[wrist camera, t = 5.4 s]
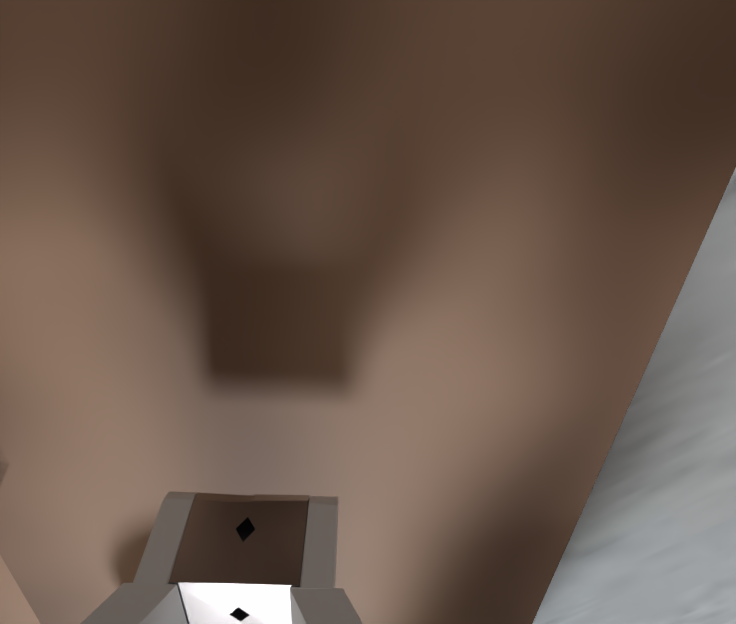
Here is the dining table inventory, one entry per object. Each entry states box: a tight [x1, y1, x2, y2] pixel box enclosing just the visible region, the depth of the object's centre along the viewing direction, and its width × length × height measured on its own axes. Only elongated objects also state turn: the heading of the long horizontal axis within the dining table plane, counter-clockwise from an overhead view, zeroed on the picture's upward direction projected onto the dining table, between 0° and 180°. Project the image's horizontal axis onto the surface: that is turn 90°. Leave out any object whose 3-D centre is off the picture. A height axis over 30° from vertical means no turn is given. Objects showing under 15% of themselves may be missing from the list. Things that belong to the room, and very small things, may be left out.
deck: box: [0, 0, 736, 624], centre depth 12 cm, size 24×20×2 cm
